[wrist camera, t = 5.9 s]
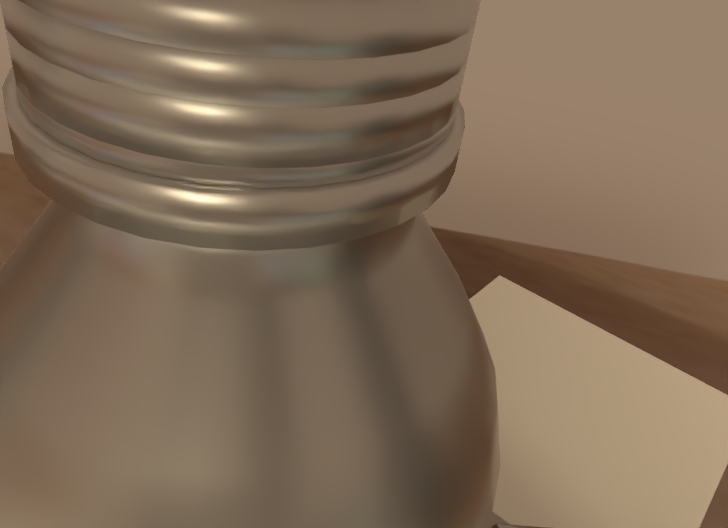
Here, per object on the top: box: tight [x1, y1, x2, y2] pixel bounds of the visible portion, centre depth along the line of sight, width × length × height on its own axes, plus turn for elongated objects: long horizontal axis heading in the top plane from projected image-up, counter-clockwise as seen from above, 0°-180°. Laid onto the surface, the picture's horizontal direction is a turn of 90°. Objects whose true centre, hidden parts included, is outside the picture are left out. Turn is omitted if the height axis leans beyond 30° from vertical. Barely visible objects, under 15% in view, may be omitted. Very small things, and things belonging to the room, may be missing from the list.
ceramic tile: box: [469, 275, 728, 528], centre depth 28 cm, size 13×13×1 cm
